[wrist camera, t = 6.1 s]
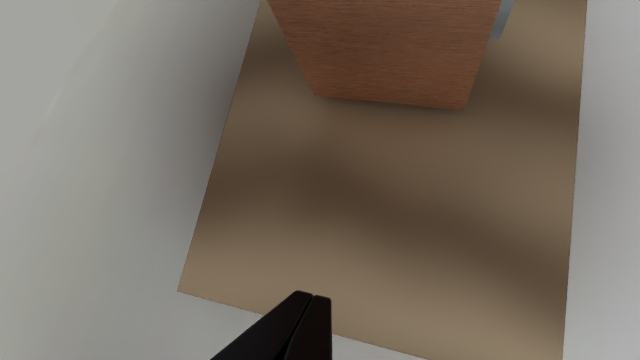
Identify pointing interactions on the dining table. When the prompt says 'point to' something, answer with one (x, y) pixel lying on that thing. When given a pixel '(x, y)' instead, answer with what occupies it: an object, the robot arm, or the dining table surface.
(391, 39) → the shaft
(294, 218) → the bearing base
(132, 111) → the dining table surface
